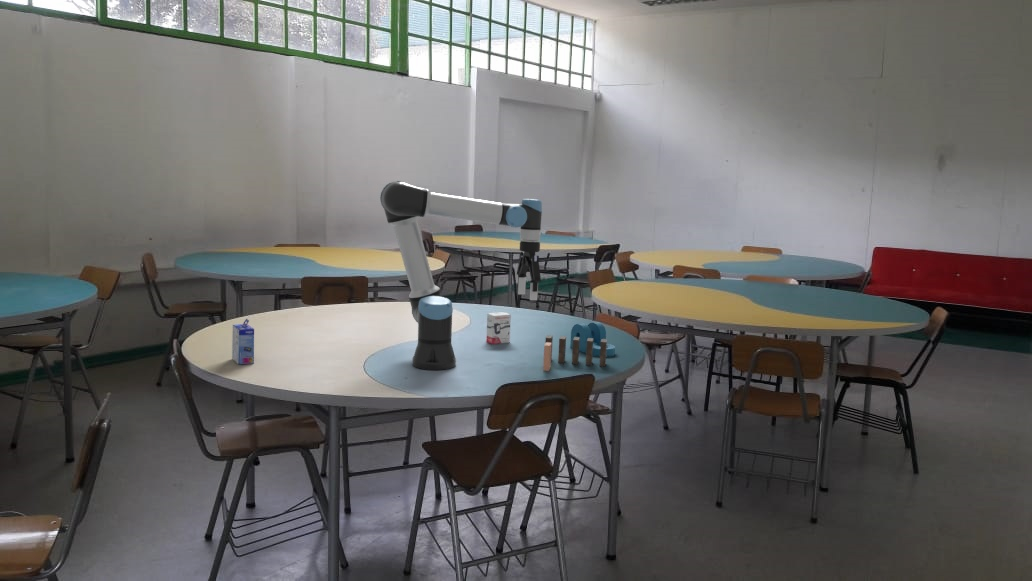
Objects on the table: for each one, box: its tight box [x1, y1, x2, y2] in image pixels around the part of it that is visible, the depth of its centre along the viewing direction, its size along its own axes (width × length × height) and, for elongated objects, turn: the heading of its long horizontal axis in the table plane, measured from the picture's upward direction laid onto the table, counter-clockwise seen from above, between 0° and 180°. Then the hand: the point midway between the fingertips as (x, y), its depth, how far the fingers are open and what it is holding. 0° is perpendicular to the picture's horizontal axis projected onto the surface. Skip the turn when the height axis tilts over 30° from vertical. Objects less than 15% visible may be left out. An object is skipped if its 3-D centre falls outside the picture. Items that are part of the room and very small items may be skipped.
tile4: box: [571, 337, 580, 365], centre depth 275 cm, size 2×5×9 cm, turn 171°
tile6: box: [599, 338, 608, 368], centre depth 273 cm, size 2×5×9 cm, turn 171°
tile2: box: [544, 334, 554, 360], centre depth 276 cm, size 2×5×9 cm, turn 171°
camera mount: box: [569, 321, 616, 358], centre depth 294 cm, size 18×10×10 cm, turn 34°
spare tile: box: [542, 342, 553, 372], centre depth 264 cm, size 2×5×9 cm, turn 171°
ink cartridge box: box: [231, 318, 255, 365], centre depth 257 cm, size 10×6×14 cm, turn 33°
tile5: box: [585, 338, 593, 366], centre depth 274 cm, size 2×5×9 cm, turn 171°
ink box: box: [485, 311, 512, 345], centre depth 303 cm, size 8×5×12 cm, turn 123°
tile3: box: [557, 335, 567, 364], centre depth 276 cm, size 2×5×9 cm, turn 171°
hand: (527, 297), depth 283 cm, fingers open, 13 cm apart
